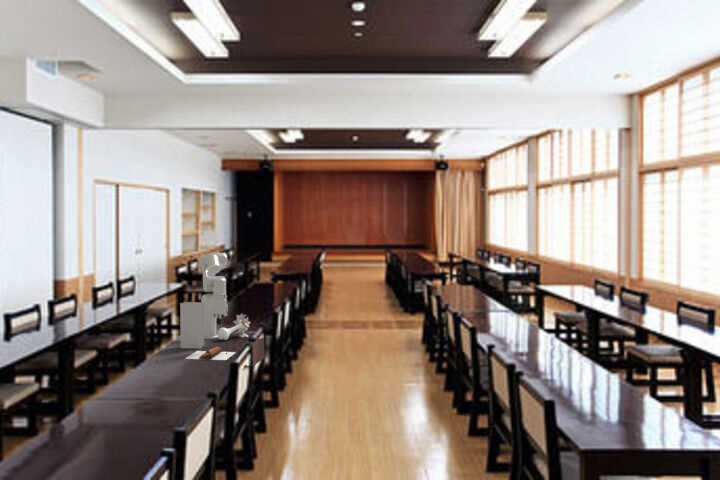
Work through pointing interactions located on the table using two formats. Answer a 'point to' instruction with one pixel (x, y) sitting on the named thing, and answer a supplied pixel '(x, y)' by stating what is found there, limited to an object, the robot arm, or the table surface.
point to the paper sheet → (217, 357)
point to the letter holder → (256, 351)
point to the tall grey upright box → (192, 325)
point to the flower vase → (234, 328)
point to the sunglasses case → (211, 353)
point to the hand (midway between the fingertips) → (219, 324)
